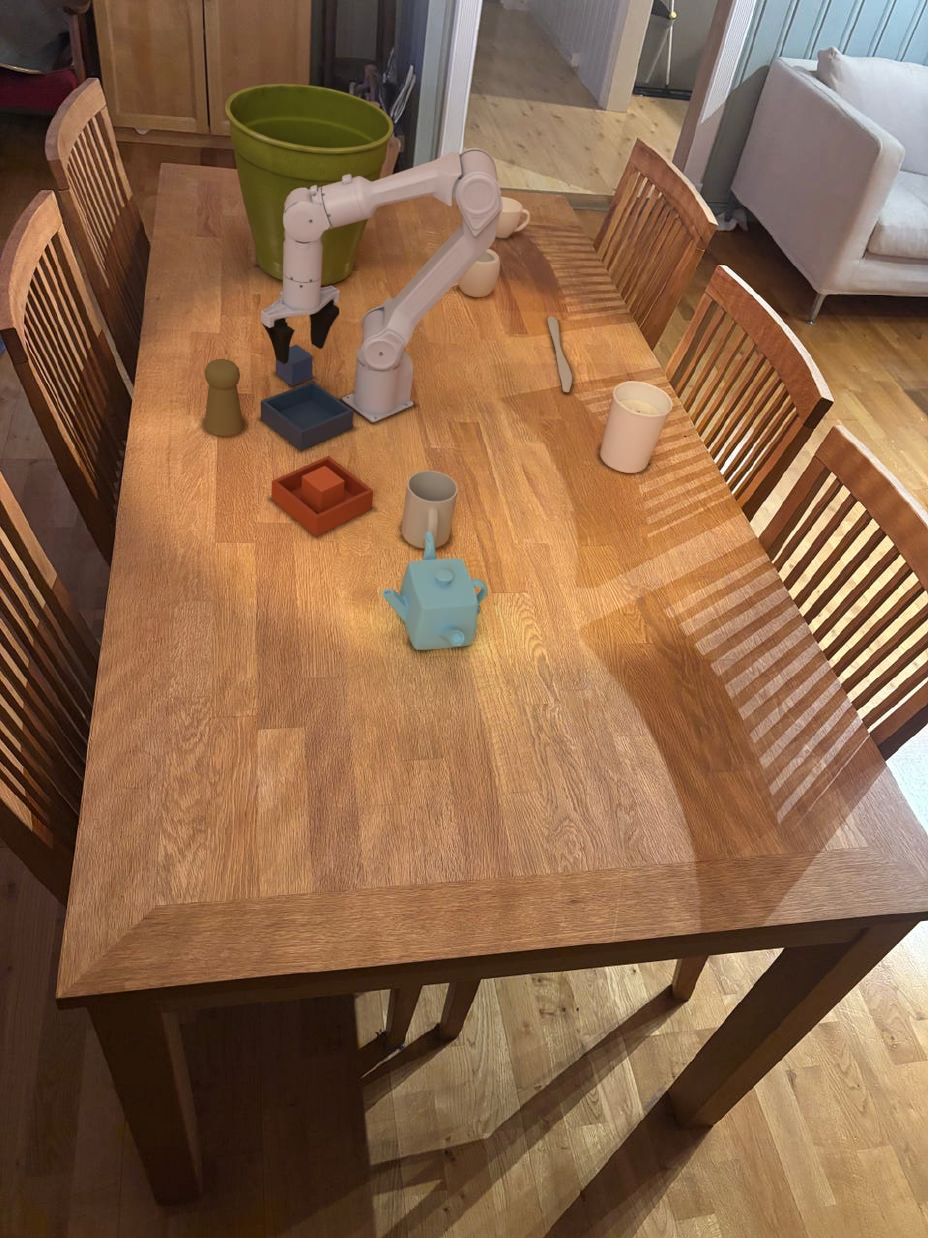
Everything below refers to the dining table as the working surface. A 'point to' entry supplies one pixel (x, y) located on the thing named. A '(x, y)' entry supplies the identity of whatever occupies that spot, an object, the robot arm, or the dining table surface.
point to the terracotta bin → (353, 504)
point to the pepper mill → (223, 398)
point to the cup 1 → (428, 507)
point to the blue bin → (306, 415)
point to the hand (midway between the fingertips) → (299, 353)
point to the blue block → (295, 366)
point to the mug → (481, 275)
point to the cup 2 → (511, 218)
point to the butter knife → (560, 355)
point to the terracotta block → (322, 489)
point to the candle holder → (634, 425)
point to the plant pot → (303, 161)
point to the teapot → (438, 601)
